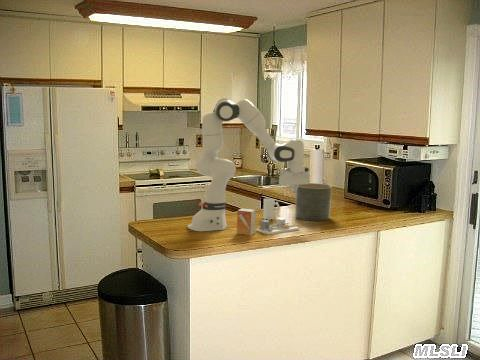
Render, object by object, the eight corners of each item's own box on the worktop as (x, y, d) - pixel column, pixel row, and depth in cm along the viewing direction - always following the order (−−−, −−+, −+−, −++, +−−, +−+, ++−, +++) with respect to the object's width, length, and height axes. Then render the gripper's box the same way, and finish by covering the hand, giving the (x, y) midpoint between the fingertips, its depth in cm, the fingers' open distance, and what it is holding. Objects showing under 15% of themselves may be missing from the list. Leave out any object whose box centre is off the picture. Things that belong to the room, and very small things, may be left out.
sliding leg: (286, 229, 276) (286, 221, 276) (276, 226, 283) (276, 218, 283) (290, 228, 278) (290, 220, 278) (280, 225, 285) (280, 217, 285)
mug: (261, 219, 307) (262, 199, 305) (264, 217, 313) (265, 198, 312) (277, 220, 304) (278, 201, 302) (280, 218, 310) (281, 199, 308)
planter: (336, 217, 317) (338, 186, 314) (317, 223, 301) (318, 189, 298) (307, 212, 332) (309, 182, 329) (287, 217, 315) (288, 185, 313)
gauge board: (268, 234, 269) (268, 223, 269) (256, 230, 278) (257, 220, 277) (299, 229, 282) (299, 219, 281) (287, 226, 290) (287, 216, 289)
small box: (236, 234, 269) (237, 210, 268) (240, 231, 275) (241, 208, 273) (250, 235, 266) (251, 211, 265) (254, 233, 272) (255, 209, 270)
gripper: (284, 169, 275) (283, 194, 276) (311, 168, 287) (310, 192, 288) (277, 168, 280) (275, 192, 282) (304, 167, 292) (302, 191, 293)
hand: (293, 192), depth 285 cm, fingers closed
